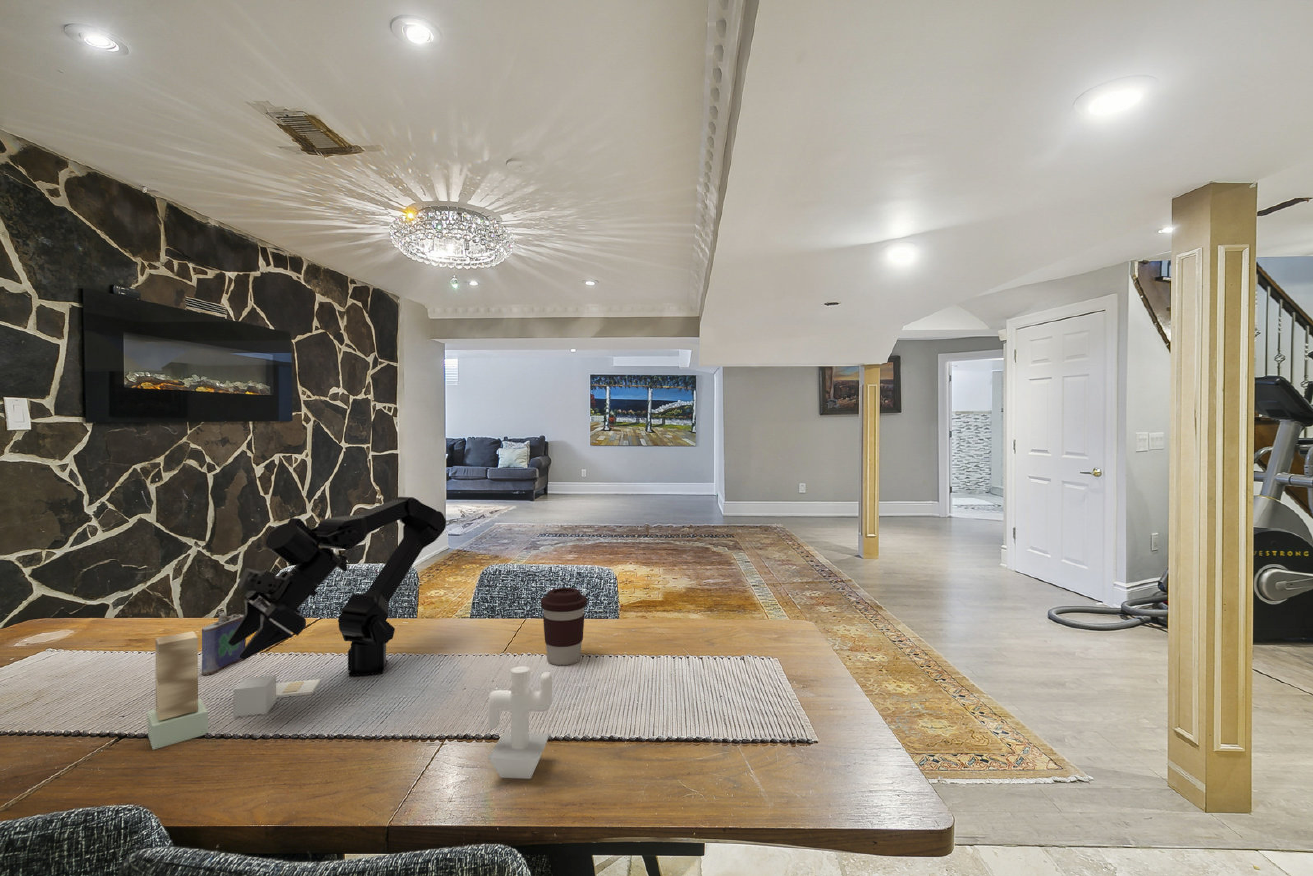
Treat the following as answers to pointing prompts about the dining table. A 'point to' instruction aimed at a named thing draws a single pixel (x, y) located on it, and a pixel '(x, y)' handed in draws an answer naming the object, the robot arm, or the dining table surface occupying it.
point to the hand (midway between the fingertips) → (235, 651)
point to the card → (296, 688)
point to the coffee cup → (563, 625)
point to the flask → (220, 644)
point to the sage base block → (177, 727)
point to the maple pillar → (176, 675)
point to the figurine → (519, 724)
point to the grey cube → (255, 695)
